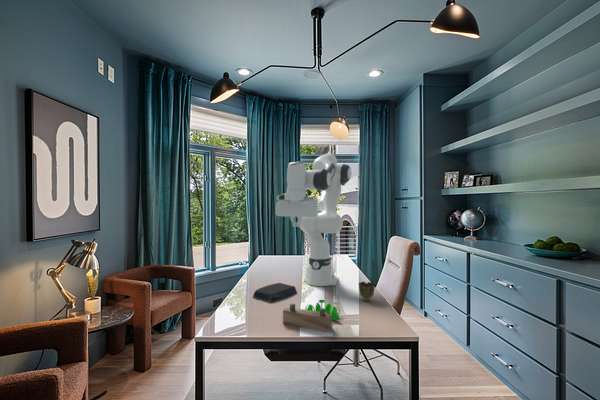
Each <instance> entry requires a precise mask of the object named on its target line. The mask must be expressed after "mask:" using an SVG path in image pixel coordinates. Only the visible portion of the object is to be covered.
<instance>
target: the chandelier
mask: <svg viewBox="0 0 600 400" xmlns="http://www.w3.org/2000/svg"><path fill="white" fill-rule="evenodd" d="M323 303H325V299H319V300H318V302H316V304H315V307H314V306H313V305H312V304H309V303H308V304H306V306H305V308H304V310H309V311H315V312H320V309H321V308H323ZM324 309H325V313H327V314H332V321H335V322H337V321H338V320H339V319H340V313H341V309H340V308H339V307H338V306H336V305H335V306H332V305H331V303H330V302H329V303H328V302H327V303H326V304H325V308H324Z"/></svg>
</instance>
